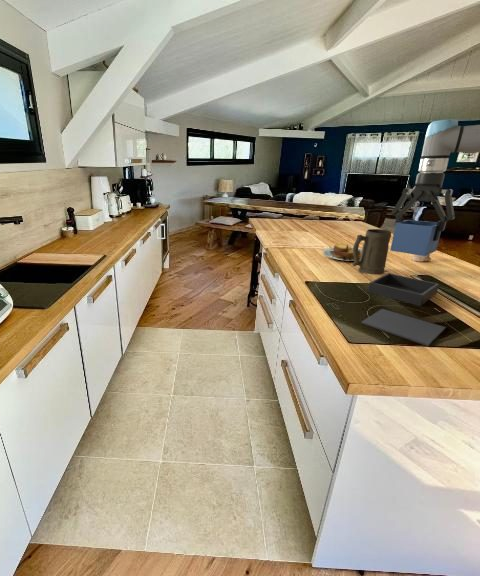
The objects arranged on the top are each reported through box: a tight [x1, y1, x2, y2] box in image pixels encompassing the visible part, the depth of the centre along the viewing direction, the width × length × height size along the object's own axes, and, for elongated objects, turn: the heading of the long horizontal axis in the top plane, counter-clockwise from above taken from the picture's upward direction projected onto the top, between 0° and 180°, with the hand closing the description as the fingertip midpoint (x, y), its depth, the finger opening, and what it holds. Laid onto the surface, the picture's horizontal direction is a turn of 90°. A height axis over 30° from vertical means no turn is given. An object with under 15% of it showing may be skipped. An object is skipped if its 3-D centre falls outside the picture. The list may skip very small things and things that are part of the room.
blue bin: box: [389, 219, 442, 256], centre depth 112 cm, size 11×11×10 cm
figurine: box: [412, 220, 432, 262], centre depth 161 cm, size 9×8×20 cm
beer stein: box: [352, 228, 392, 275], centre depth 143 cm, size 15×11×20 cm
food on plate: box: [322, 243, 362, 262], centre depth 171 cm, size 25×25×7 cm
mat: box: [360, 307, 448, 347], centre depth 97 cm, size 18×18×1 cm
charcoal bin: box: [367, 272, 440, 307], centre depth 120 cm, size 18×18×5 cm
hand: (415, 237), depth 112 cm, fingers closed on blue bin, 11 cm apart
